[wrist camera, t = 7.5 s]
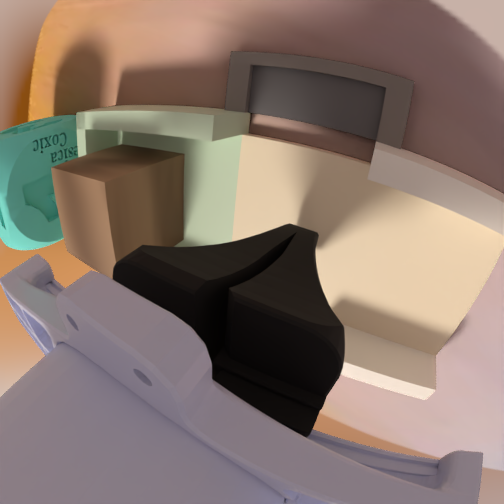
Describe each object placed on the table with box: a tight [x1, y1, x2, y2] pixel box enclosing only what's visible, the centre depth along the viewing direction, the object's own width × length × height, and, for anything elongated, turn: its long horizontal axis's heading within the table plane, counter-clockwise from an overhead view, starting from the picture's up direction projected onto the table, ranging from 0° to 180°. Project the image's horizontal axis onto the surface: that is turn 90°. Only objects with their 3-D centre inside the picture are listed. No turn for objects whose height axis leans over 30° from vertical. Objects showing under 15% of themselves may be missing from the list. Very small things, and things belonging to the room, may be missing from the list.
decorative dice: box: [0, 115, 78, 250], centre depth 15 cm, size 8×8×8 cm
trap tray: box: [76, 51, 504, 400], centre depth 12 cm, size 22×16×3 cm
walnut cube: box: [51, 144, 185, 279], centre depth 13 cm, size 5×5×5 cm
